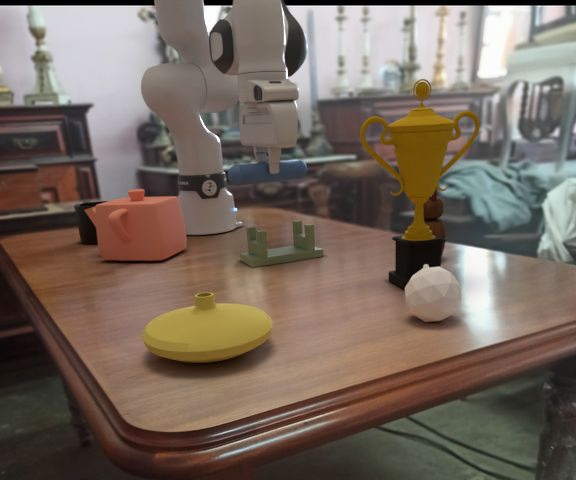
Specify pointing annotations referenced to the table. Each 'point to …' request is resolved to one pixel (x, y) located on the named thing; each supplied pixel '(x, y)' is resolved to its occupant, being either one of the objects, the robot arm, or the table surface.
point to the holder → (264, 256)
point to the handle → (266, 172)
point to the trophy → (418, 176)
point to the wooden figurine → (435, 217)
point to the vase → (207, 331)
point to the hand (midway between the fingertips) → (268, 172)
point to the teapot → (139, 227)
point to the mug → (86, 223)
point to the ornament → (432, 294)
